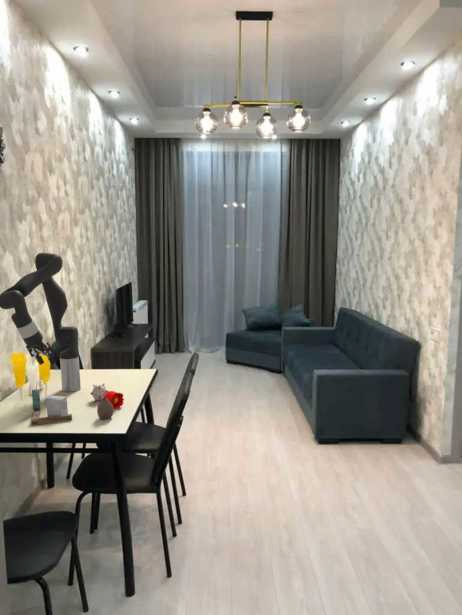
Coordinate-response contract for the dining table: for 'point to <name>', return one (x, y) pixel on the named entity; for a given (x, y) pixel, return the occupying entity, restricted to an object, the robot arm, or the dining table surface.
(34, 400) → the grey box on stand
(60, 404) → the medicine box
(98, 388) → the grey spiky ball
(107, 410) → the grey rounded lump
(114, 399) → the flower
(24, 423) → the dining table surface
